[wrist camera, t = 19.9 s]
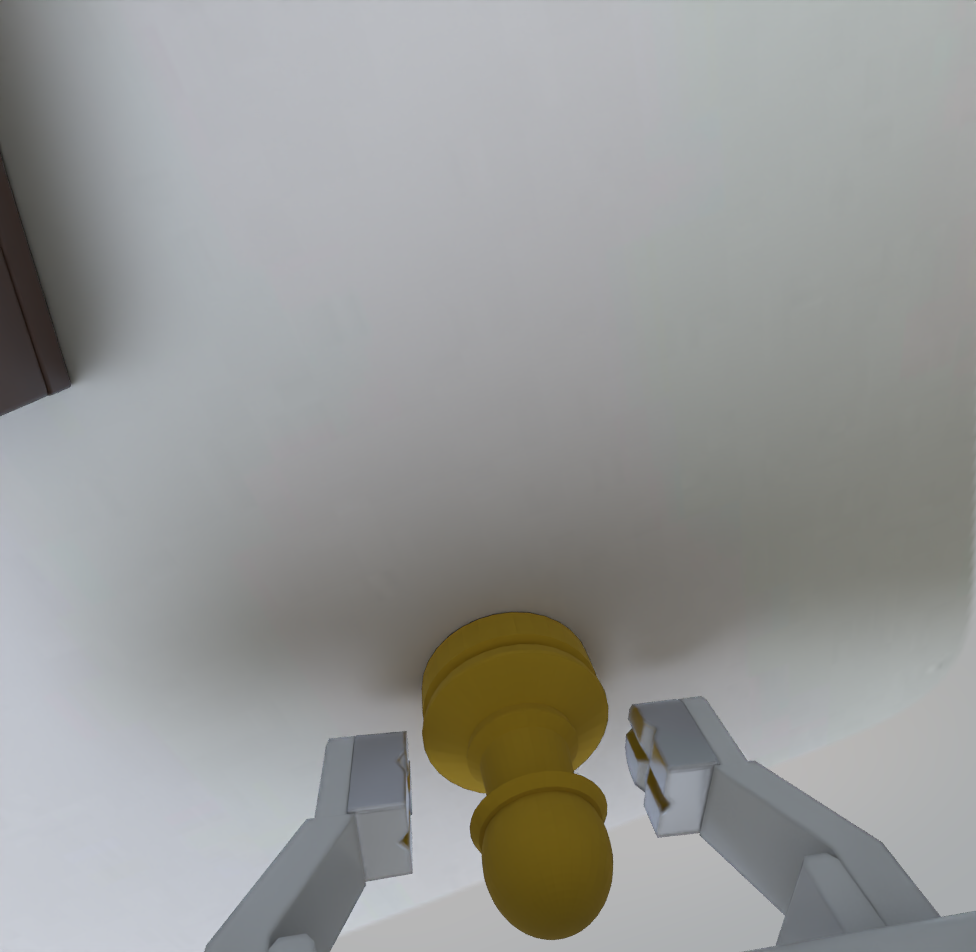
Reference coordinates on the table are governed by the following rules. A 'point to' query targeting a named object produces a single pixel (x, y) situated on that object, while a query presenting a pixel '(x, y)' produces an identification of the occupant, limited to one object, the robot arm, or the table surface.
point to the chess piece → (525, 764)
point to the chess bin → (23, 318)
